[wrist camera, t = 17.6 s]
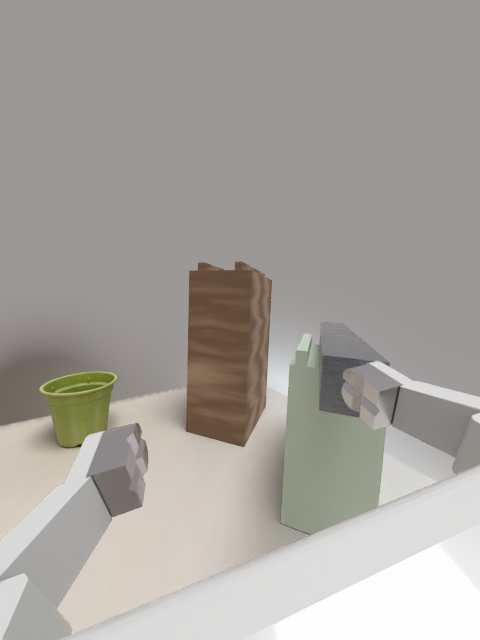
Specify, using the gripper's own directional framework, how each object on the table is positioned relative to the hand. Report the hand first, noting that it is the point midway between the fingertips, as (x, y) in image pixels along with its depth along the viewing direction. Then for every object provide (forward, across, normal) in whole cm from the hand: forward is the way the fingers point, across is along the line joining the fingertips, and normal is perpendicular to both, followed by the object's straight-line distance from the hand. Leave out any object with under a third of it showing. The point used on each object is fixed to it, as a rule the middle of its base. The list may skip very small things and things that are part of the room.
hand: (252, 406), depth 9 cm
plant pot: (+25, +21, +21) cm, 39 cm away
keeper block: (+8, -10, +23) cm, 26 cm away
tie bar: (+10, -11, +7) cm, 16 cm away
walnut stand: (+25, -2, +26) cm, 36 cm away
